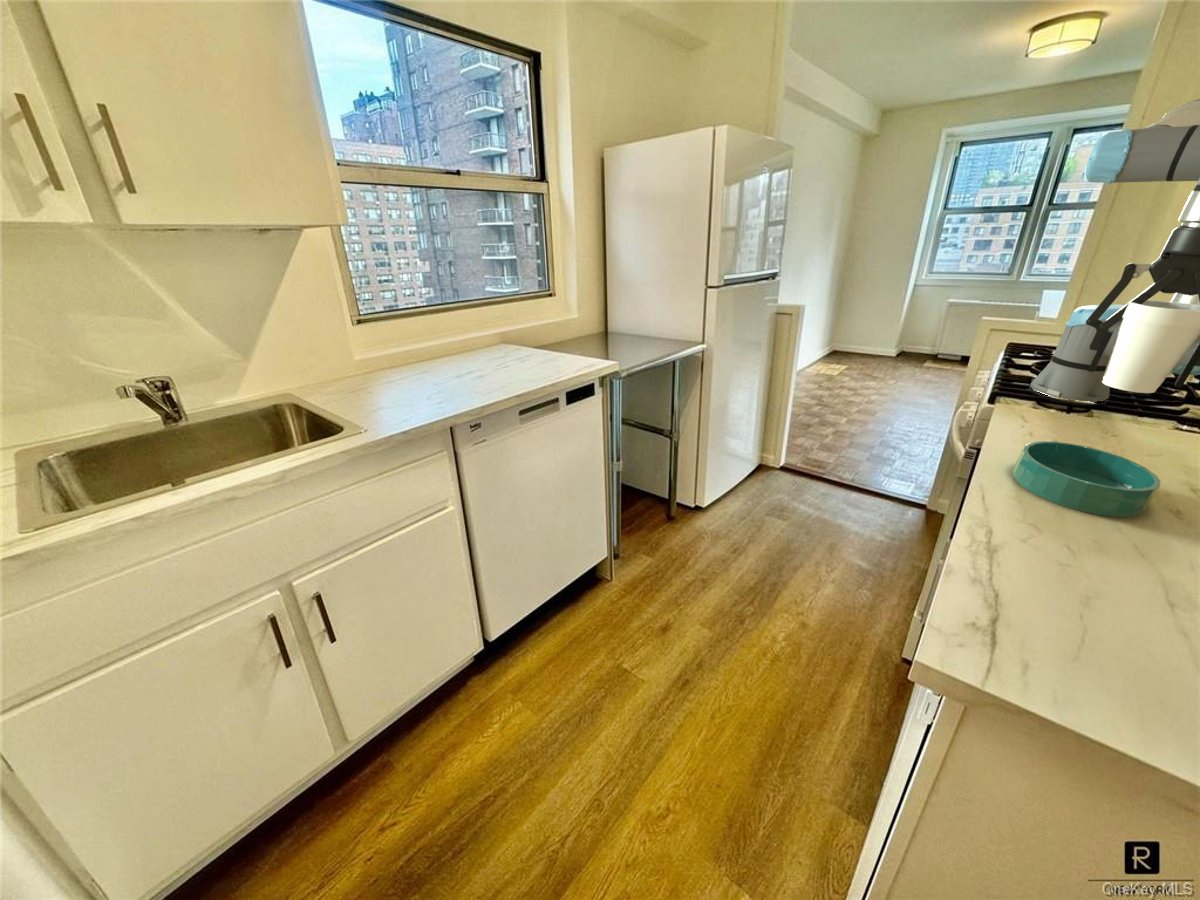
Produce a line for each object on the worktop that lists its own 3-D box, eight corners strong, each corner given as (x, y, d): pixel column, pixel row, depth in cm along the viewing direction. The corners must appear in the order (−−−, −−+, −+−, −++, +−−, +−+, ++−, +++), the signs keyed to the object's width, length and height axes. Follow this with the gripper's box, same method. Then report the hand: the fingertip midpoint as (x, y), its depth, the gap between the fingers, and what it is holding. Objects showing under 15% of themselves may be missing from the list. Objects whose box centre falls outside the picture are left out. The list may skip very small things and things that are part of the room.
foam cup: (1077, 381, 81) (1115, 301, 75) (1107, 374, 85) (1145, 298, 79) (1152, 400, 74) (1201, 313, 68) (1181, 392, 77) (1231, 308, 71)
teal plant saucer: (1023, 456, 96) (1034, 433, 93) (1147, 490, 84) (1162, 465, 82) (1002, 486, 85) (1013, 461, 83) (1140, 530, 74) (1157, 503, 72)
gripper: (1105, 223, 73) (1042, 366, 83) (1351, 229, 59) (1238, 401, 69) (1110, 222, 78) (1050, 358, 88) (1340, 228, 63) (1236, 389, 73)
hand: (1133, 377), depth 78 cm, fingers closed on foam cup, 9 cm apart
